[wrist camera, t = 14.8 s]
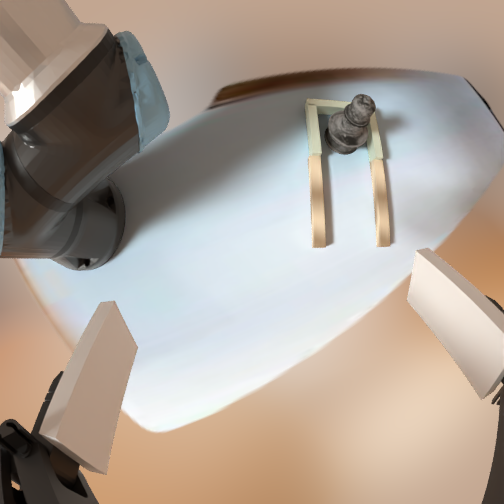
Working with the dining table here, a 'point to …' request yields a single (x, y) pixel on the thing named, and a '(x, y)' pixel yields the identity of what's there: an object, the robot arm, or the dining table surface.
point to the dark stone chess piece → (350, 125)
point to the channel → (318, 203)
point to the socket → (330, 108)
